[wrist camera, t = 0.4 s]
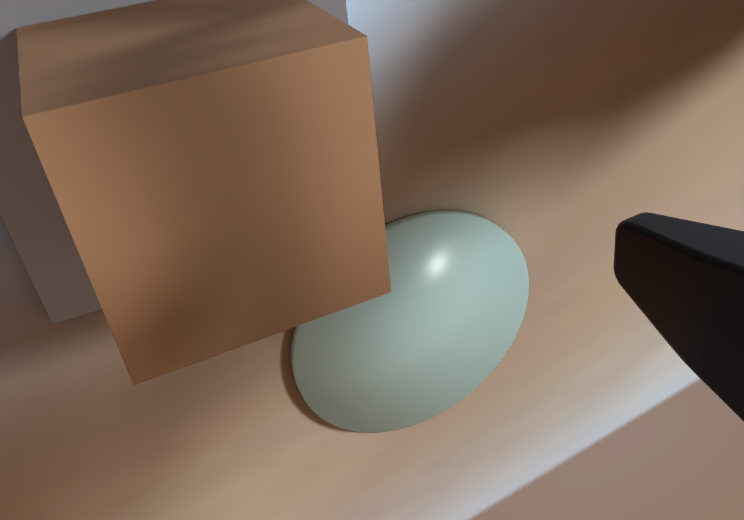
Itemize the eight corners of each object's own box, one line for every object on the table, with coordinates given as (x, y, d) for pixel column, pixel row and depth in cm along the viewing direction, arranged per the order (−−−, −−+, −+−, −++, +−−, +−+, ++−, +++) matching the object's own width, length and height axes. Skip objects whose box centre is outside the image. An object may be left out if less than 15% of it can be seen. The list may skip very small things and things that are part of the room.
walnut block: (268, -23, 17) (367, 35, 12) (304, 186, 21) (391, 291, 16) (16, 28, 15) (22, 116, 11) (101, 246, 19) (133, 384, 14)
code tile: (325, -126, 17) (332, -125, 16) (365, 216, 23) (370, 222, 22) (-126, -56, 14) (-129, -53, 14) (51, 317, 20) (52, 326, 19)
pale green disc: (528, 176, 25) (534, 180, 24) (518, 372, 31) (524, 378, 30) (267, 261, 22) (271, 267, 22) (312, 460, 28) (315, 467, 27)
